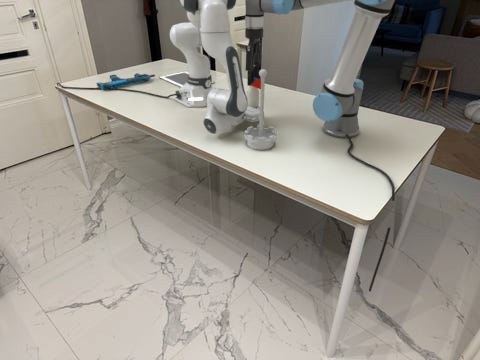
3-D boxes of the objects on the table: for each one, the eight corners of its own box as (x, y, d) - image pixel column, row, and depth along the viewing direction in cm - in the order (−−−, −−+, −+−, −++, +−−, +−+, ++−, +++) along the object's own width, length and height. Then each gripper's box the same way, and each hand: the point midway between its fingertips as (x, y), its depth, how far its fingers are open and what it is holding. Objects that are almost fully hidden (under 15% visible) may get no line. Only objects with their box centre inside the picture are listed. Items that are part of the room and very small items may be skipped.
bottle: (244, 118, 162) (244, 79, 152) (254, 115, 164) (255, 77, 154) (250, 122, 158) (251, 82, 148) (260, 119, 160) (261, 80, 150)
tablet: (159, 77, 217) (158, 76, 217) (185, 71, 228) (185, 71, 228) (186, 89, 197) (186, 89, 197) (214, 82, 208) (214, 82, 208)
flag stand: (268, 134, 146) (271, 63, 130) (281, 147, 136) (287, 72, 120) (240, 139, 142) (239, 66, 126) (252, 153, 132) (253, 76, 116)
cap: (258, 82, 153) (258, 77, 152) (257, 85, 150) (257, 80, 148) (249, 82, 154) (249, 76, 153) (248, 84, 150) (248, 79, 149)
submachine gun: (140, 68, 226) (159, 74, 209) (142, 73, 228) (160, 80, 211) (89, 77, 207) (104, 85, 190) (90, 84, 209) (106, 92, 192)
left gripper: (253, 114, 142) (272, 105, 151) (217, 103, 153) (237, 95, 162) (252, 128, 146) (271, 118, 154) (218, 116, 157) (237, 107, 166)
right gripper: (253, 23, 148) (252, 76, 160) (237, 30, 133) (237, 88, 145) (270, 24, 145) (267, 78, 158) (255, 32, 130) (253, 90, 143)
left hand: (253, 106), depth 158 cm, fingers closed on bottle, 5 cm apart
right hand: (253, 83), depth 152 cm, fingers open, 6 cm apart
